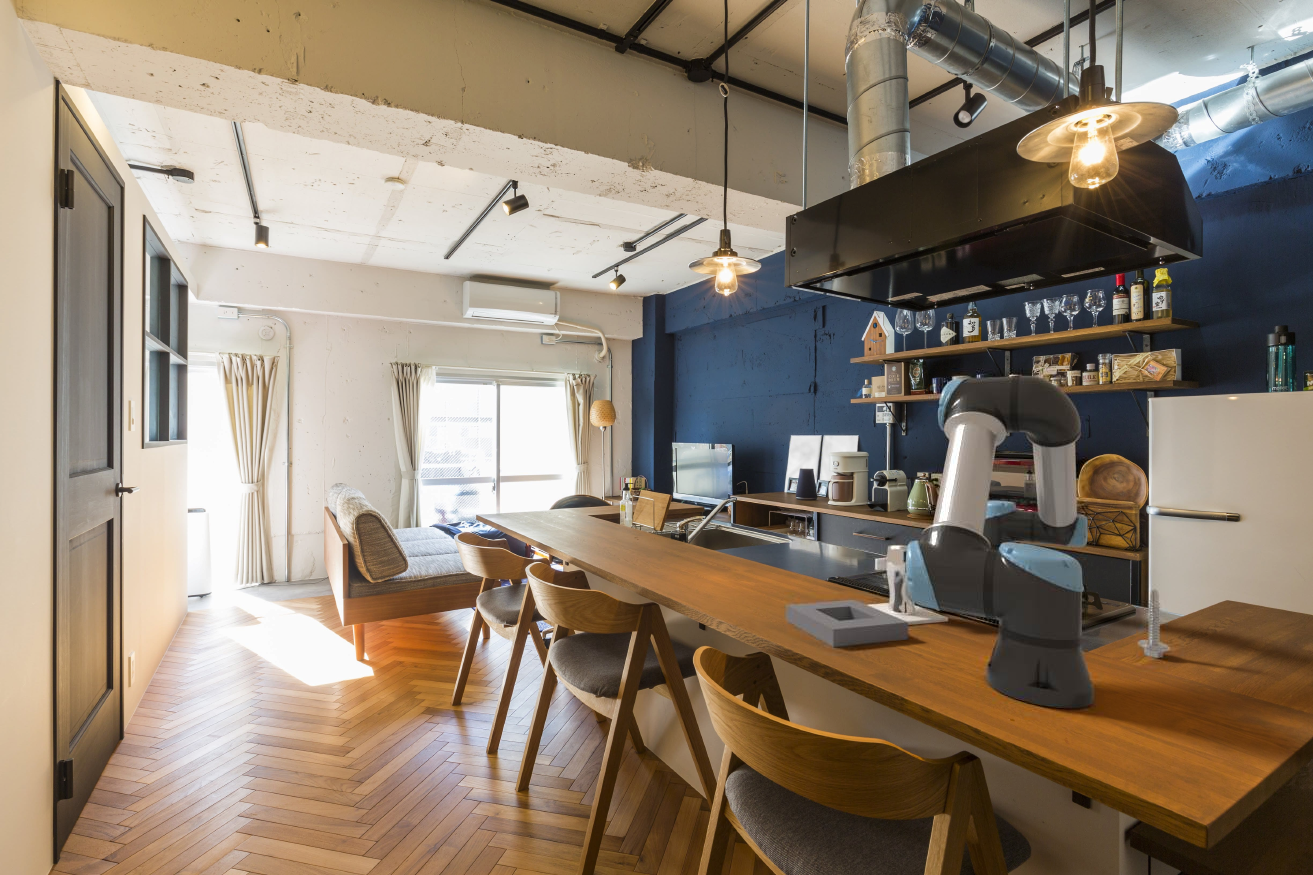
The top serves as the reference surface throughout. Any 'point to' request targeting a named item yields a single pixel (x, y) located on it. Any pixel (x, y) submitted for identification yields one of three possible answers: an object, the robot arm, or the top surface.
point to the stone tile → (913, 615)
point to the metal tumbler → (898, 581)
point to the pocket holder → (846, 623)
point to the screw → (1154, 630)
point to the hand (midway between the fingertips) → (895, 570)
